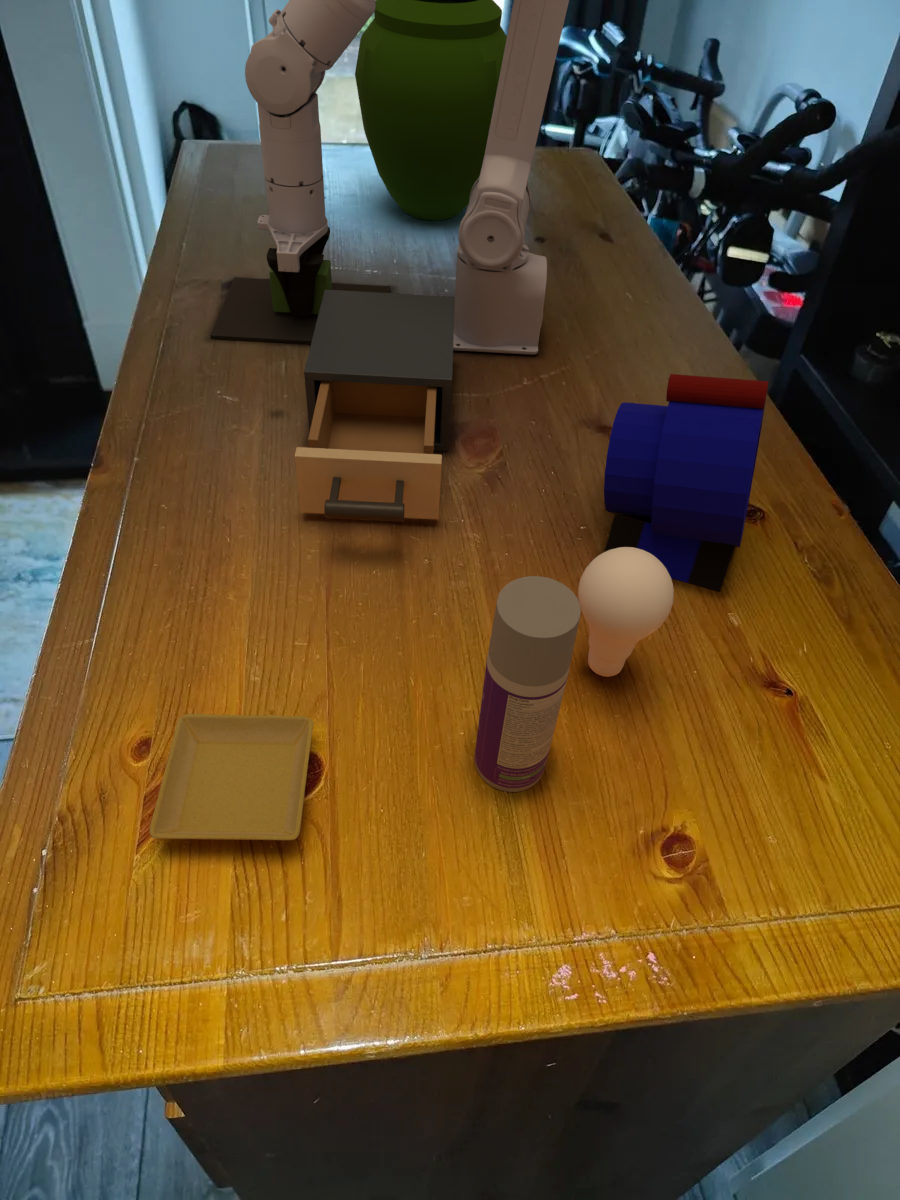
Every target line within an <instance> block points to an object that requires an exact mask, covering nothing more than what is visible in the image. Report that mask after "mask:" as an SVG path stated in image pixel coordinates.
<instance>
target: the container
mask: <svg viewBox="0 0 900 1200" xmlns="http://www.w3.org/2000/svg"><path fill="white" fill-rule="evenodd" d="M581 615H582V611H581V607H580V603H579V598H578V596H577V595H576V594H575V593H574V591H572V589H571V588H569V587H568V586H567V585H565V584H564V583H562V582H560V581H558V580H556V579H554V578H551V577H545V576H541V575H528V576H522V577H518V578H515V579H513V580H512V581H510V582H508V583H506V584H505V585H504V586H503V587H502V589H501V590H500V591H499V593H498V595H497V599H496V604H495V610H494V615H493V621H492V628H491V633H490V640H489V645H488V649H487V650H488V651H487V656H486V662H485V670H484V678H483V685H482V693H481V701H480V710H479V716H478V723H477V725H478V726H477V734H476V741H475V748H474V767H475V769H476V772H477V774H478V775H479V776H480V778H481V779H482V780H483V781H484V782H485V783H486V784H487V785H489V786H490V787H492V788H493V789H496V790H499V791H502V792H505V793H506V792H508V793H518V792H523V791H527V790H529V789H531V788H532V787H534V786H536V784H537V783H539V781H540V780H541V779H542V777H543V775H544V773H545V769H546V766H547V762H548V758H549V755H550V750H551V746H552V742H553V738H554V734H555V730H556V726H557V722H558V719H559V714H560V710H561V706H562V702H563V699H564V698H563V697H564V694H565V691H566V686H567V681H568V677H569V675H570V674H569V673H570V668H571V663H572V659H573V653H574V648H575V644H576V643H575V642H576V639H577V634H578V630H579V624H580V621H581V620H580V619H581Z"/></svg>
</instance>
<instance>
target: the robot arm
mask: <svg viewBox="0 0 900 1200" xmlns="http://www.w3.org/2000/svg"><path fill="white" fill-rule="evenodd" d="M569 3H570V0H513V3H512V8H511V13H510V19H509V25H508V30H507V34H506V36H507V39H506V45H505V50H504V55H503V60H502V66H501V71H500V76H499V82H498V87H497V92H496V97H495V103H494V108H493V113H492V118H491V124H490V129H489V134H488V139H487V145H486V150H485V155H484V160H483V164H482V169H481V173H480V177H479V178H478V179H477V180H476V182H475V183H474V185H473V187H472V189H471V193H470V197H469V204H468V206H467V207H466V209H465V214H464V216H463V218H462V219H461V221H460V224H459V227H458V233H457V234H458V235H457V236H458V237H457V238H458V245H457V254H456V268H455V270H456V271H455V289H454V297H455V305H454V339H453V351H461V352H478V353H494V354H495V353H497V354H512V355H513V354H514V355H515V354H516V355H531V356H533V355H537V354H539V342H540V334H541V327H542V325H543V320H544V319H543V318H544V307H545V298H546V291H547V290H546V289H547V279H548V261H547V256H545V255H541V254H540V255H539V254H536V253H531V252H530V248H529V246H528V245H527V244H526V241H525V237H526V233H525V231H526V227H527V222H528V217H529V215H530V211H531V208H532V194H531V190H530V186H529V177H530V172H531V167H532V164H533V159H534V154H535V151H536V146H537V141H538V137H539V133H540V128H541V124H542V121H543V115H544V111H545V107H546V103H547V99H548V93H549V90H550V85H551V81H552V77H553V72H554V67H555V63H556V59H557V55H558V50H559V47H560V46H559V45H560V41H561V37H562V33H563V29H564V24H565V20H566V16H567V11H568V7H569ZM375 8H376V0H288V1H287V3H286V4H285V5H284V7H283V9H282V10H280V9H278V8H277V9H275V10H274V11H273V12H272V14H271V16H270V17H269V18H268V23H269V24H270V25H271V26H272V31H271V32H269V33H268V34H267V35H266V36H265V37H264V38H260V39H259V40H257V41H256V42H255V43H253V44H252V45H251V48H250V52H249V55H248V56H247V59H246V63H245V67H244V79H245V83H246V87H247V89H248V91H249V93H250V95H251V96H252V99H254V101H255V102H256V103H257V104H256V105H257V113H258V122H259V124H258V129H259V130H258V131H259V138H260V139H259V140H260V149H261V158H262V168H263V177H264V186H265V195H266V201H267V202H266V206H267V213H268V214H261V215H259V216H258V219H257V223H256V224H257V229H259V230H263V231H268V233H269V235H270V237H271V239H272V242H273V244H274V247H275V248H274V247H269V248H268V250H267V253H266V263H267V265H268V267H269V269H272V270H273V272H274V273H275V275H276V276H277V278H278V280H279V282H280V284H281V286H282V289H283V292H284V295H285V298H286V301H287V304H288V307H289V310H290V312H291V314H292V316H301V317H311V313H312V309H313V303H314V290H315V282H316V276H317V273H318V271H319V269H320V266H321V264H322V261H323V260H324V258H325V255H324V254H323V253H324V250H325V247H326V246H327V243H328V241H329V238H330V235H331V228H330V227H329V220H328V218H327V216H326V203H325V202H326V201H325V199H326V198H325V183H324V182H325V181H324V166H323V149H322V146H323V145H322V129H321V127H322V126H321V123H320V111H319V95H318V93H317V91H318V90H319V88H320V87H321V86H322V84H323V82H324V80H325V76H326V72H327V71H329V70H331V69H332V68H333V67H334V66H335V64H336V62H337V61H338V60H339V59H340V58H341V56H342V55H343V53H345V51H346V49H348V47H349V46H350V45H351V43H352V42H353V40H355V38H356V36H357V35H358V34H359V33H360V31H361V30H362V29H363V28H364V26H365V25H366V24H367V22H368V21H369V20H370V19H371V17H372V16H373V14H374V12H375Z"/></svg>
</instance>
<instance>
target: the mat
mask: <svg viewBox="0 0 900 1200" xmlns="http://www.w3.org/2000/svg"><path fill="white" fill-rule="evenodd" d="M332 290H342V291H359V292H377V293H391V286H390V285H377V284H375V285H374V284H357V283H343V282H342V283H341V282H332ZM317 318H318V314H311V317H301V316H292V314H291V313H290V312H274V311H273V302H272V292H271V283H270V278H254V277H253V278H252V277H237V276H236V277H233V279H232V282H231V284H230V286H229V289H228V291H227V294H226V296H225V299H224V301H223V303H222V306H221V309H220V310H219V314H218V316H217V318H216V320H215V322H214V325H213V328H212V330H211V333H210V336H209V337H210V339H211V340H228V341H229V340H231V341H244V342H245V341H247V342H248V341H249V342H264V343H265V342H266V343H283V344H284V343H286V344H299V345H301V344H302V345H311V342H312V338H313V334H314V330H315V326H316V322H317Z"/></svg>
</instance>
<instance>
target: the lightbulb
mask: <svg viewBox="0 0 900 1200" xmlns="http://www.w3.org/2000/svg"><path fill="white" fill-rule="evenodd" d="M672 579H673V578H671V577H670V575H669V573H668V571H667V569H666V568H665V566H664V565H663V564H662V563H661V562H660V561H659V560H658V559H657V558H656V557H655V556H654V555H652V554H650V553H649V552H646V551H644V550H641V549H638V548H633V547H619V548H615V549H611V550H608V551H606V552H602V553H600V554H598V555H597V556H596V557H594V558H593V559H592V560H591V561H590V563H588V564H587V566H586V568H584V571H583V572H582V575H581V576H580V579H579V583H578V589H577V599H578V601H579V603H580V607H581V614H582V615H583V618H584V620H585V622H586V623H587V625H588V628H589V629H588V630H589V633H588V647H589V648H588V654H587V655H588V657H587V664H588V666H589V668H590V669H591V670H592V672H594V673H595V674H597V675H598V676H601V677H609V678H610V677H615V676H617V675H618V674H619V673H621V671H622V670H623V668H624V665H625V664H626V661H627V659H628V658H629V657H630V656H631V655H632V653H633V651H634V649H635V646H636V645H637V643H638V642H639V641H640V640H643V639H645V638H646V637H648V636H650V635H652V634H653V633H654V632H656V631H657V630H659V629H660V627H662V625H663V624H664V623H665V621H666V620H667V619H668V617H669V616H670V614H671V610H672V607H673V605H674V598H675V597H674V595H675V594H674V593H675V590H674V584H673V580H672Z"/></svg>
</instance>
